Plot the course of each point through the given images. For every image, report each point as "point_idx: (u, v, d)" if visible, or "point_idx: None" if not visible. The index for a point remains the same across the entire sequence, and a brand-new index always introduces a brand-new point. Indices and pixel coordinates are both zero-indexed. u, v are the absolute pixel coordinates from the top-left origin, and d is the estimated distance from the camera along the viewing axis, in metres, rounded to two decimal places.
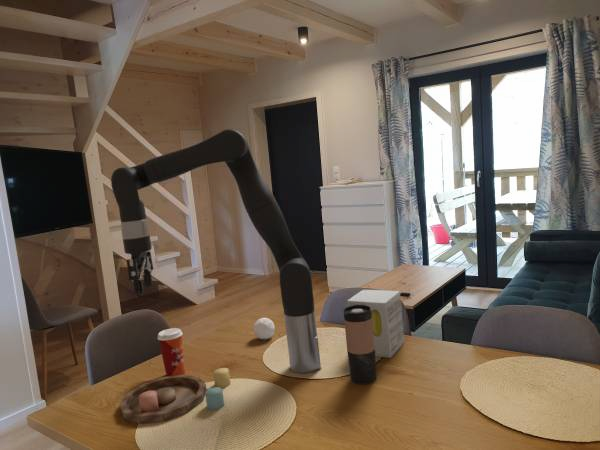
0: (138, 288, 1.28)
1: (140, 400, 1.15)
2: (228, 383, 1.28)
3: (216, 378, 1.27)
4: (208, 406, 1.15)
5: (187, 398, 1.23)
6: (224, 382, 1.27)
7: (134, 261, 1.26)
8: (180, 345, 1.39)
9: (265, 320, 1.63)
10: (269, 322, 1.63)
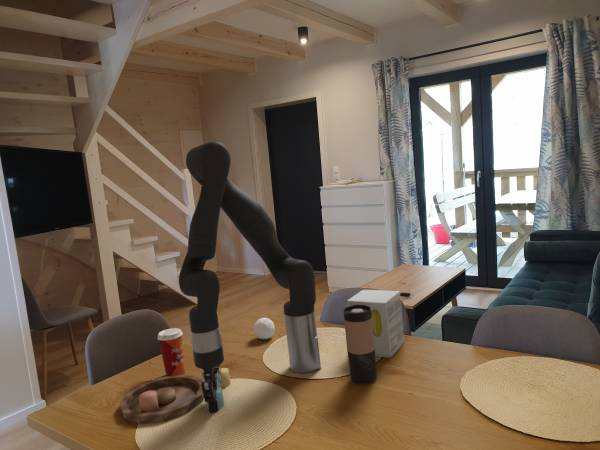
0: (214, 409, 1.13)
1: (140, 400, 1.15)
2: (228, 383, 1.28)
3: None
4: (208, 406, 1.15)
5: (187, 398, 1.23)
6: (224, 382, 1.27)
7: (210, 385, 1.09)
8: (180, 345, 1.39)
9: (265, 320, 1.63)
10: (269, 322, 1.63)
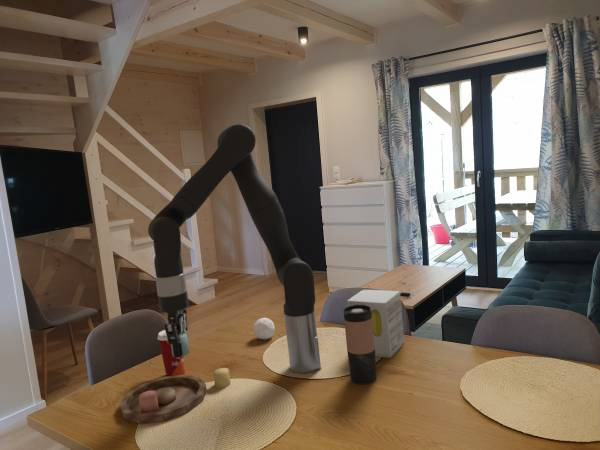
0: (178, 351, 1.18)
1: (140, 400, 1.15)
2: (228, 383, 1.28)
3: (216, 378, 1.27)
4: None
5: (187, 398, 1.23)
6: (224, 382, 1.27)
7: (173, 327, 1.14)
8: None
9: (265, 320, 1.63)
10: (269, 322, 1.63)
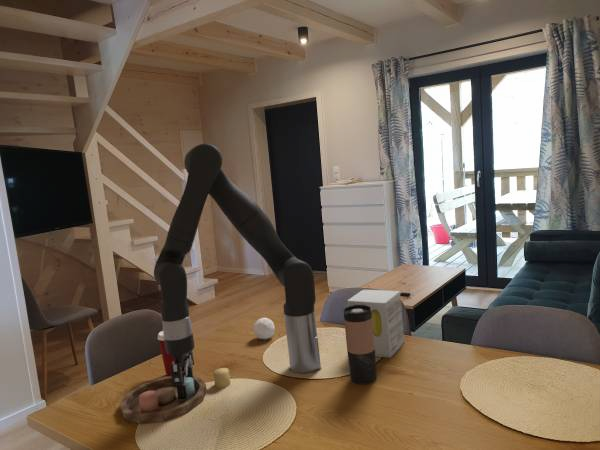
0: (182, 394, 1.17)
1: (140, 400, 1.15)
2: (228, 383, 1.28)
3: (216, 378, 1.27)
4: None
5: None
6: (224, 382, 1.27)
7: (178, 367, 1.15)
8: None
9: (265, 320, 1.63)
10: (269, 322, 1.63)
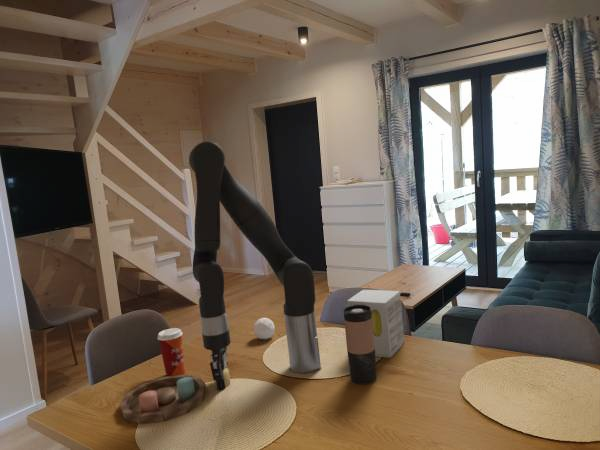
0: (221, 387, 1.25)
1: (140, 400, 1.15)
2: (228, 383, 1.28)
3: None
4: (179, 395, 1.21)
5: None
6: None
7: (218, 365, 1.21)
8: (180, 345, 1.39)
9: (265, 320, 1.63)
10: (269, 322, 1.63)
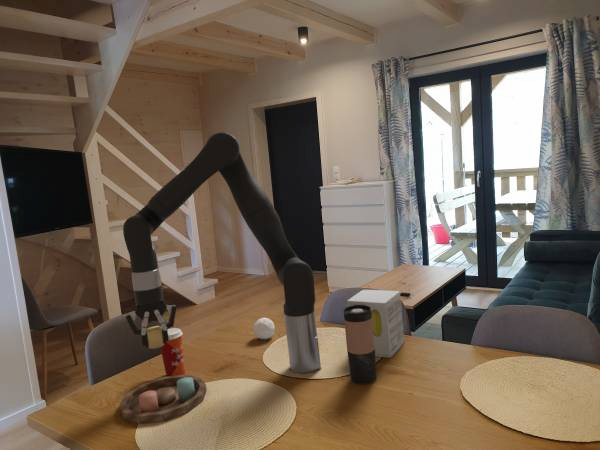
0: None
1: (140, 400, 1.15)
2: (151, 343, 1.25)
3: None
4: (179, 395, 1.21)
5: None
6: (147, 339, 1.25)
7: (126, 318, 1.23)
8: (180, 345, 1.39)
9: (265, 320, 1.63)
10: (269, 322, 1.63)
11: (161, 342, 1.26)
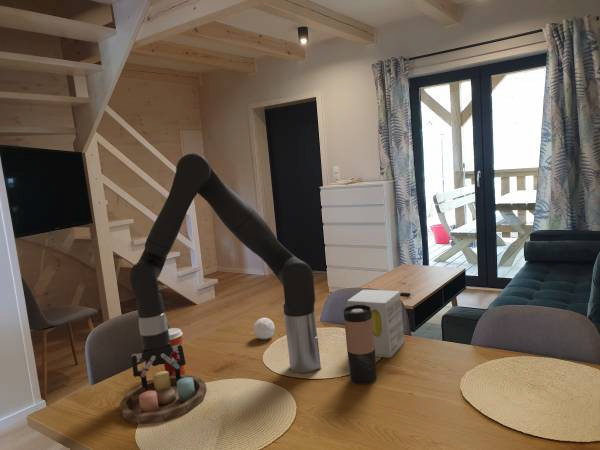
0: None
1: (140, 400, 1.15)
2: (159, 389, 1.26)
3: None
4: (179, 395, 1.21)
5: None
6: (154, 385, 1.27)
7: (132, 358, 1.24)
8: None
9: (265, 320, 1.63)
10: (269, 322, 1.63)
11: None
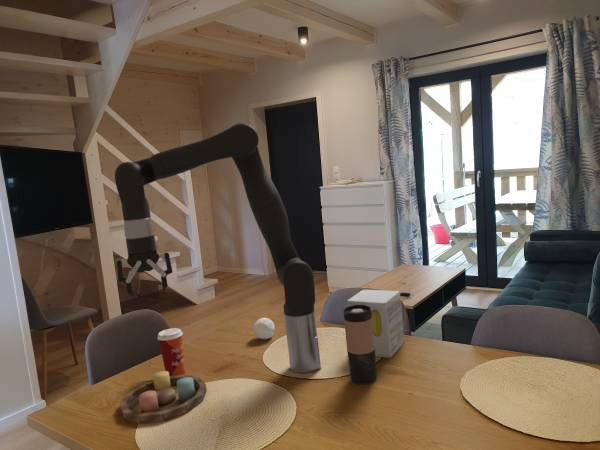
0: None
1: (140, 400, 1.15)
2: (159, 389, 1.26)
3: None
4: (179, 395, 1.21)
5: None
6: (154, 385, 1.27)
7: (117, 262, 1.21)
8: (180, 345, 1.39)
9: (265, 320, 1.63)
10: (269, 322, 1.63)
11: None
